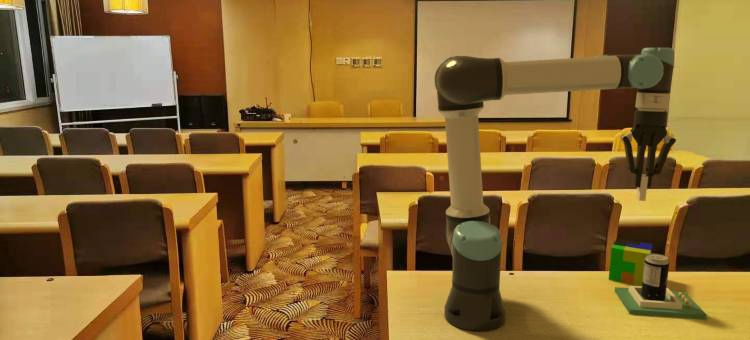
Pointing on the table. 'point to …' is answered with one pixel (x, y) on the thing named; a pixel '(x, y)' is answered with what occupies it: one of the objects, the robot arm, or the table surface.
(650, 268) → the beverage can
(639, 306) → the header board
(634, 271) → the puzzle toy
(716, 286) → the table surface
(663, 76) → the robot arm
